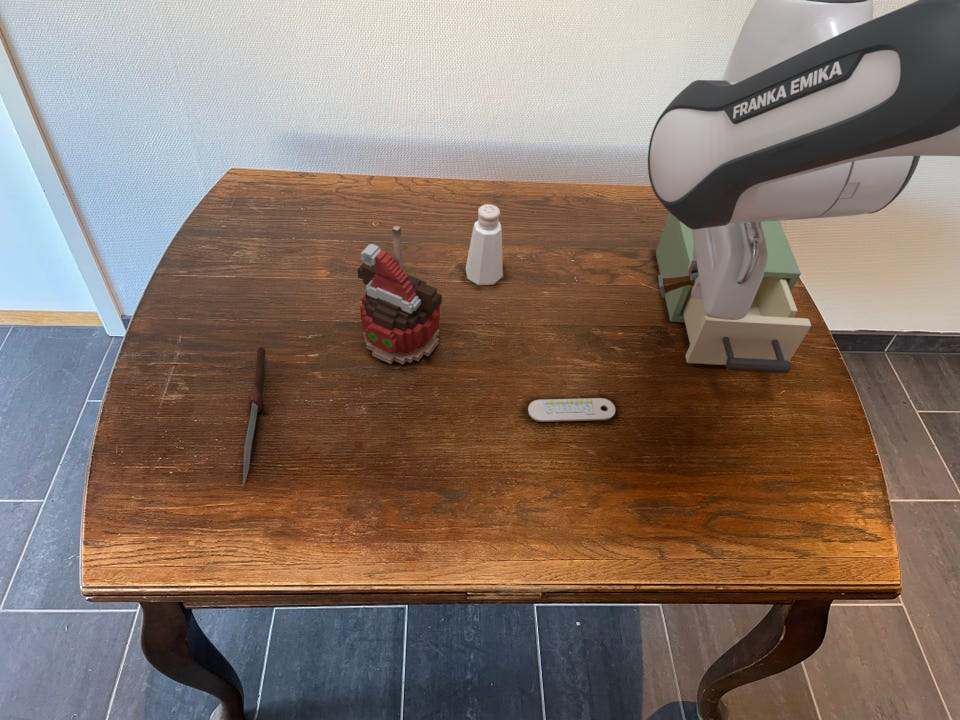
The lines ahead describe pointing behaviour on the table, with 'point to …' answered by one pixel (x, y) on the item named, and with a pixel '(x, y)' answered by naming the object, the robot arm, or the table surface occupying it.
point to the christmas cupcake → (397, 307)
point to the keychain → (571, 409)
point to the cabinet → (678, 255)
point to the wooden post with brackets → (674, 283)
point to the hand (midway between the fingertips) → (697, 284)
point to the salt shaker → (486, 248)
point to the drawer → (748, 332)
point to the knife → (254, 408)
